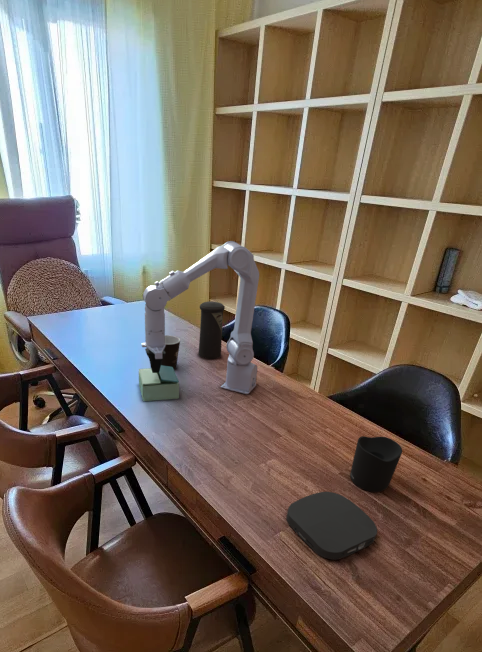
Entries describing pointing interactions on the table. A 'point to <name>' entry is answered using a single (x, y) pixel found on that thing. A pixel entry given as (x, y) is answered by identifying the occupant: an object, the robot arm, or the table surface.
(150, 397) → the box
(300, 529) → the media streaming box
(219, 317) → the container
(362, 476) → the pen holder
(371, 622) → the table surface
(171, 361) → the coffee mug
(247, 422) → the table surface
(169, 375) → the lid
